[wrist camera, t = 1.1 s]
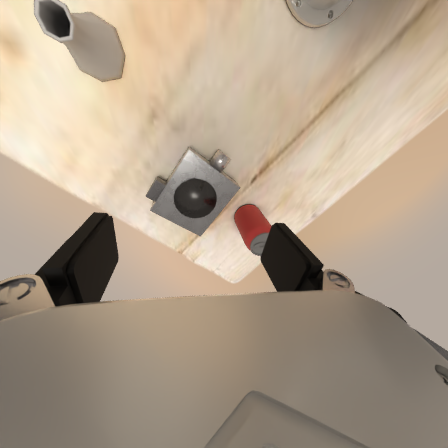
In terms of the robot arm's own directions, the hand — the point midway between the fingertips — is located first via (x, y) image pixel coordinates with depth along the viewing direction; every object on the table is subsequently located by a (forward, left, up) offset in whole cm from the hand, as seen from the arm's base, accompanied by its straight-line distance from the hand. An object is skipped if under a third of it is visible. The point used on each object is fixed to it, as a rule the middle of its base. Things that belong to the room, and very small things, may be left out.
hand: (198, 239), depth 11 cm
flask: (-4, -18, -29) cm, 34 cm away
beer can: (+4, +19, -29) cm, 35 cm away
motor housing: (+5, +4, -28) cm, 29 cm away
